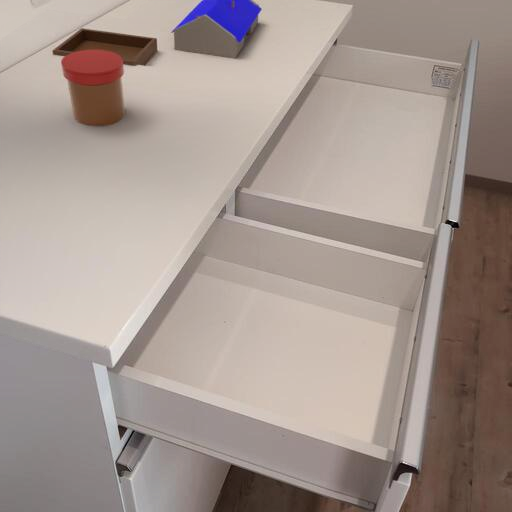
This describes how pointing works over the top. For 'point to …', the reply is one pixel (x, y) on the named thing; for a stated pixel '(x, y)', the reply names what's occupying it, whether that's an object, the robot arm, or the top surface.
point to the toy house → (217, 27)
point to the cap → (92, 67)
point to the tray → (111, 45)
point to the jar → (97, 103)
